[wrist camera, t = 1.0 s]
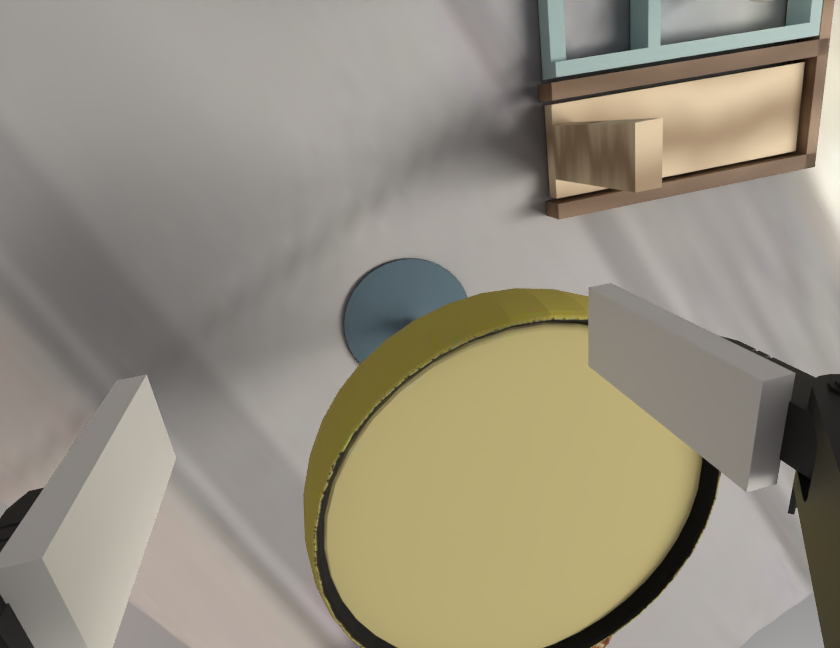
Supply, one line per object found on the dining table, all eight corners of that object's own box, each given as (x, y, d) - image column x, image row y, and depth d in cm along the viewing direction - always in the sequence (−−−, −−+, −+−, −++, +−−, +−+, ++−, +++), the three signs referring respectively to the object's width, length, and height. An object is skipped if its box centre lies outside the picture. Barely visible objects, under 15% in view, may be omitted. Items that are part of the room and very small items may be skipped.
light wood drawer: (544, 105, 41) (635, 94, 30) (792, 63, 44) (953, 40, 33) (550, 197, 43) (635, 217, 32) (783, 150, 47) (930, 154, 36)
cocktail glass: (318, 190, 39) (354, 268, 16) (534, 235, 44) (795, 343, 21) (282, 406, 44) (271, 699, 21) (480, 425, 49) (643, 677, 26)
